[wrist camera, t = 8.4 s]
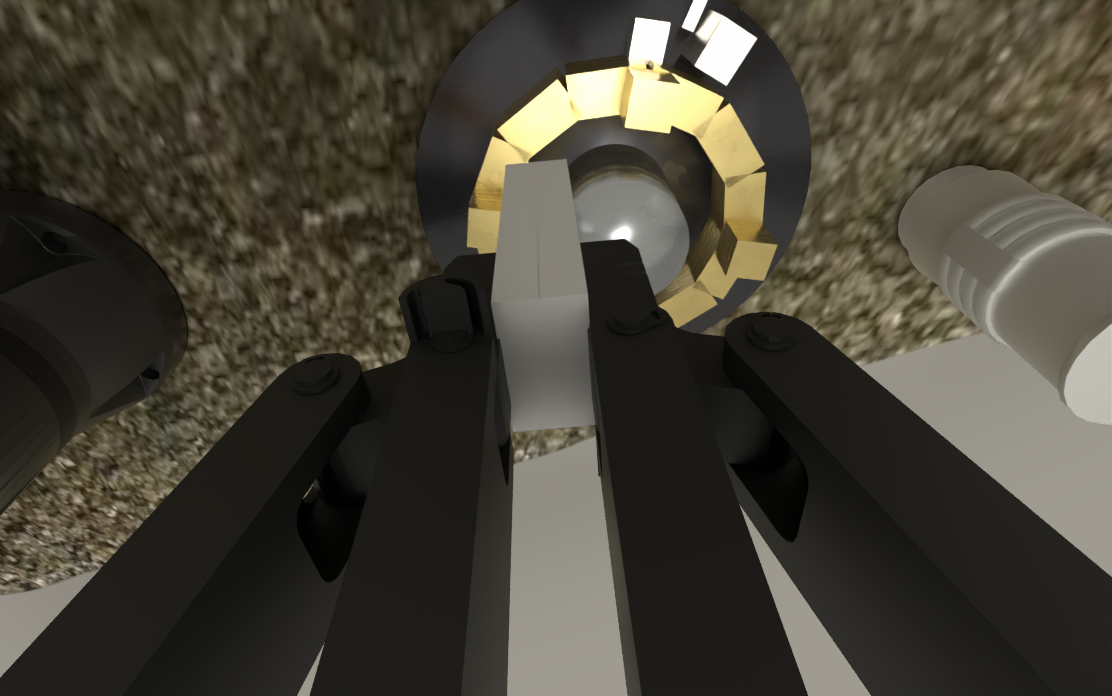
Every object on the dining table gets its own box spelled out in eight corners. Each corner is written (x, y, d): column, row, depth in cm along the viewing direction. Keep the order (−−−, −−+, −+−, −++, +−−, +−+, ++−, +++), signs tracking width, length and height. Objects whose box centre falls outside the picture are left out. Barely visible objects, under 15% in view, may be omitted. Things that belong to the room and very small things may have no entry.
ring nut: (422, 179, 32) (401, 220, 28) (655, -16, 27) (676, -6, 23) (583, 354, 39) (587, 409, 35) (793, 225, 34) (830, 270, 30)
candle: (937, 141, 33) (1164, 264, 21) (1037, 176, 34) (1306, 312, 22) (865, 248, 37) (1022, 405, 25) (958, 276, 38) (1151, 439, 26)
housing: (475, 365, 42) (462, 440, 36) (364, 19, 29) (315, 42, 23) (791, 318, 40) (835, 389, 34) (816, -76, 27) (892, -77, 21)
